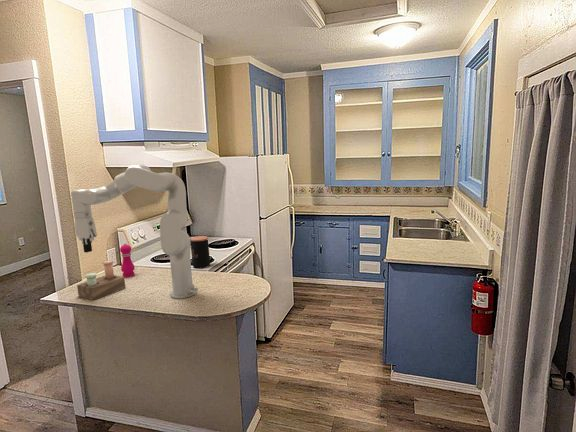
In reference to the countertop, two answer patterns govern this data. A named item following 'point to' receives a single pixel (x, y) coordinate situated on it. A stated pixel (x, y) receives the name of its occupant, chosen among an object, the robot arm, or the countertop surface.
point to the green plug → (91, 279)
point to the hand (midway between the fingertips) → (88, 251)
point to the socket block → (101, 287)
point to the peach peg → (108, 269)
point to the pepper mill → (127, 261)
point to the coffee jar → (200, 252)
